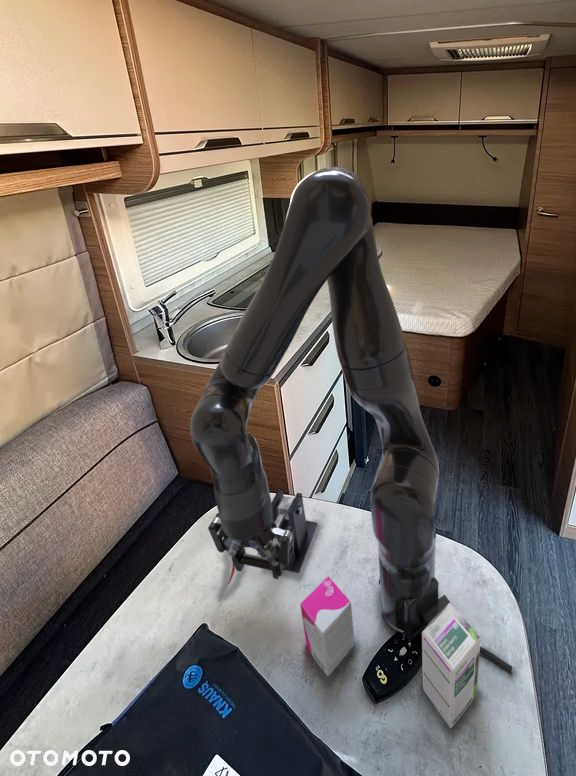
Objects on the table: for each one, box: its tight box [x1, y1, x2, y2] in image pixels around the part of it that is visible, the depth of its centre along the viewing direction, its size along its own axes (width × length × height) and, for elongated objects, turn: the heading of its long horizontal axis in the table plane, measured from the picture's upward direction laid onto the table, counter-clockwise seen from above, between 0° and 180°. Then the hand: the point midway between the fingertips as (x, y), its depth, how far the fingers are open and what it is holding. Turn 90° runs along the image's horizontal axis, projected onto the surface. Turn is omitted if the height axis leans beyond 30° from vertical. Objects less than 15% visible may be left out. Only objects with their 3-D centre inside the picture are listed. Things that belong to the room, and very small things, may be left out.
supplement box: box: [300, 576, 355, 677], centre depth 62 cm, size 6×6×12 cm
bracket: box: [271, 489, 318, 574], centre depth 77 cm, size 10×7×13 cm
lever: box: [239, 495, 295, 572], centre depth 71 cm, size 13×6×2 cm, turn 167°
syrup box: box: [421, 602, 482, 729], centre depth 56 cm, size 6×6×14 cm
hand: (259, 569), depth 66 cm, fingers closed on lever, 6 cm apart
